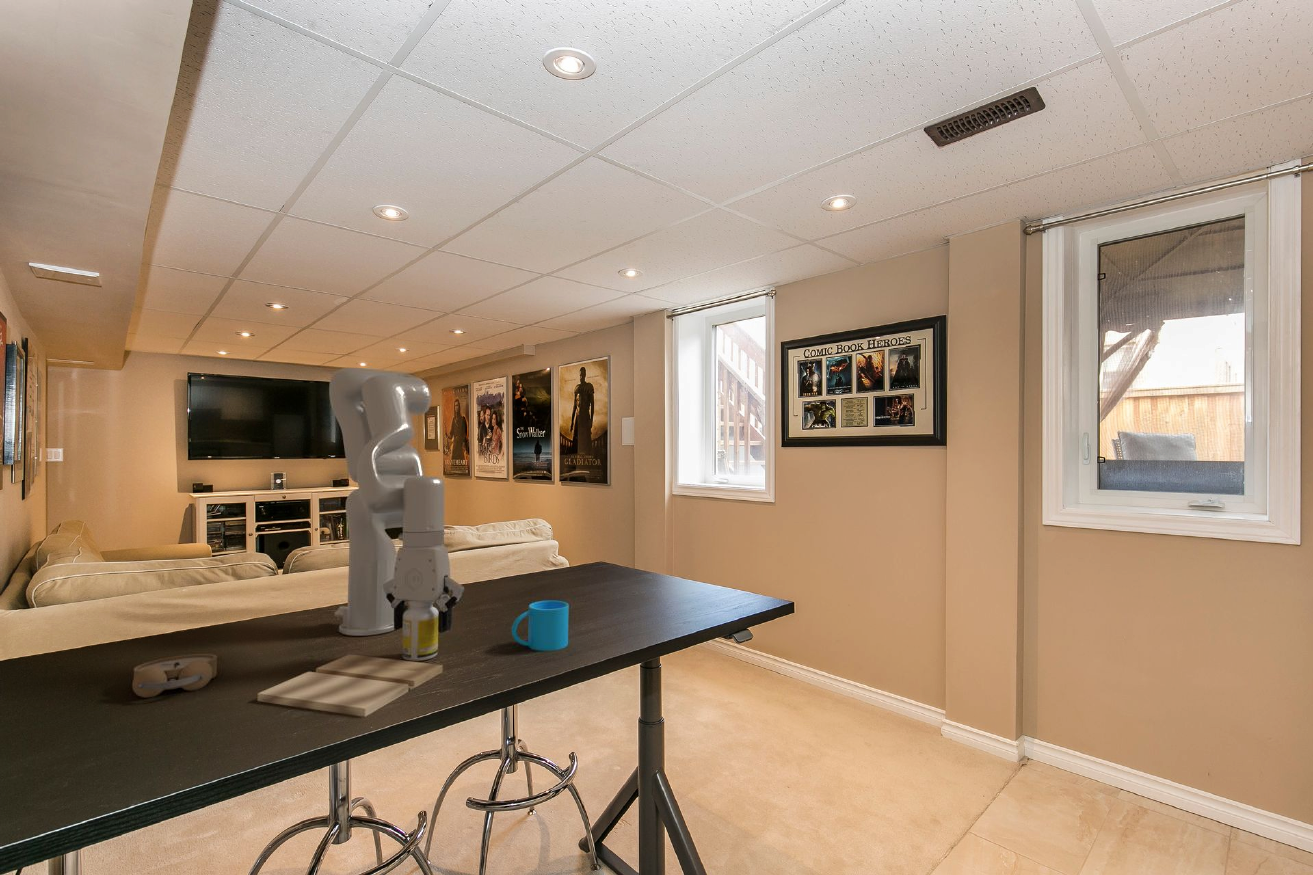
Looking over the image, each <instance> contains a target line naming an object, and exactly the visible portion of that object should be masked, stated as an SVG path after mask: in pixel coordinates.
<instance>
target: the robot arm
mask: <svg viewBox="0 0 1313 875" xmlns="http://www.w3.org/2000/svg"><path fill="white" fill-rule="evenodd" d="M328 386H329V388H328V389H329V390H328V391H329V393H328V394H329V402H330V405H331V408H332V411H333V413H334V416H335V419H336V420H337V422H338V424H339V427H340V430H341V434H342V440H343V446H344V455H345V461H346V468H347V472H348V475H349V478H350V479H351V481H352V482H354V483H355V484H356V483H357V485H358V486H357V487H358V488H357V489H354V490H353V491H351V492H350V493H349V494H348V496H347V498H346V500H345V516H346V521H347V527H348V541H349V542H348V548H349V550H348V578H347V579H348V584H347V606H339V607H338V608H337V610H336V611H334V617H336V618H342V619H343V620H342V623H340V625H338V632H339V633H341V634H342V635H347V636H353V637H354V636H355V637H359V636H361V637H362V636H363V637H364V636H375V635H381V634H385V633H389V632H392V631H395V630H397V631H398V630H400V629H403V614H404V612H405V611H406V610H407V609H409V607H408V604H407V605H406V603H408V601H420V602H433V601H434V602H435V603H436V605H437V606H438V607H439V609H440V611H439V610H438V634H440V633H441V634H443V633H445V632H447V631H449V630H451V628H452V624H453V623H452V622H453V618H452V616H453V610H452V609H454V608H455V607H456V605H457V604H458V603H459V602H460V600H461V597H462V596H463V594H464V592H465V587H464V586H463V585H462V584H460V583H459V582H457V581H455V580H454V579H452V578H451V568H450V567H451V564H450V558H449V552H448V549H447V546H445V491H446V490H445V489H446V488H445V482H444V480H443V479H442V477H439V476H428V475H425V473H424V468H423V463H422V459H421V455H420V453H419V452H418V450H417V449H416V448H414V446H412V445H409V443H411V441H412V440H413V439H414V437H415V429H414V426H413V423H412V419H411V415H414V416H415V415H417V416H419V415H424V414H425V413H427V412H428V411H429V410H430V408H431V404H432V403H431V402H432V394H431V390H430V388H429V385H428V384H427V382H425V381H424V380H423V379H422V378H419V377H417V376H415V375H411V374H410V373H405V372H400V371H393V370H392V371H390V370H384V369H383V370H382V369H374V368H364V367H344V368H341V369H338V370H336V371H335V372H333V374H332V375H331V377H330V380H329V385H328ZM392 528H393V529H394V528H402V533H399V535H398V540H399V541H402V546H401V547H399V548H398V550H397V548H396V546H395V543H394V541H393V540H392V538H391V537H390V536H389V535H388V534H387V531H385V530H386V529H392ZM396 552H397V553H396ZM451 591H452V596H450V594H451Z"/></svg>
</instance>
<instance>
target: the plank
mask: <svg viewBox="0 0 1313 875" xmlns="http://www.w3.org/2000/svg"><path fill="white" fill-rule="evenodd" d="M408 692H409V690H408V684H402V683H394V682H386V681H378V680H370V679H362V678H355V677H347V676H339V675H331V674H323V673H316V671H315V672H314V671H313V672H312V671H307V672H304V673H301V674H300V675H298V676H296V677H293V678H290V679H288V680H285V681H283V682H282V683H279V684H276V685H274V686H272V687H269V688H267V689H265V690H262V691H260V692H258V693H257V702H263V703H269V704H276V705H280V706H281V705H283V706H289V707H296V708H303V709H308V710H309V709H310V710H315V711H316V710H318V711H322V712H324V711H325V712H330V713H337V714H343V715H344V714H345V715H350V716H351V715H352V716H358V717H368V716H369V715H371V714H373V713H375V712H376V711H377V710H379V709H381V708H382V707H384V706H386V705H388V704H390V703H391V702H393V701H395V700H397V699H398V698H400V697H401V696H403V695H405V694H406V693H408Z"/></svg>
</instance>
